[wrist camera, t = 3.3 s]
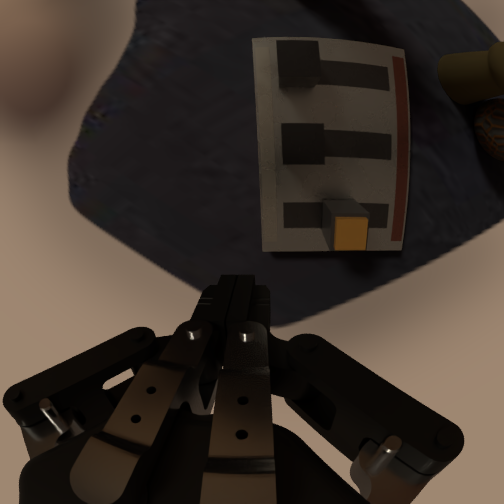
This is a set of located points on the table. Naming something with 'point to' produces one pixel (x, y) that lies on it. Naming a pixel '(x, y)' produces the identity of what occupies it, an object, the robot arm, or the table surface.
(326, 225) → the breaker handle
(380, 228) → the breaker panel
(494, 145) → the vase
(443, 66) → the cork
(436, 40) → the table surface
